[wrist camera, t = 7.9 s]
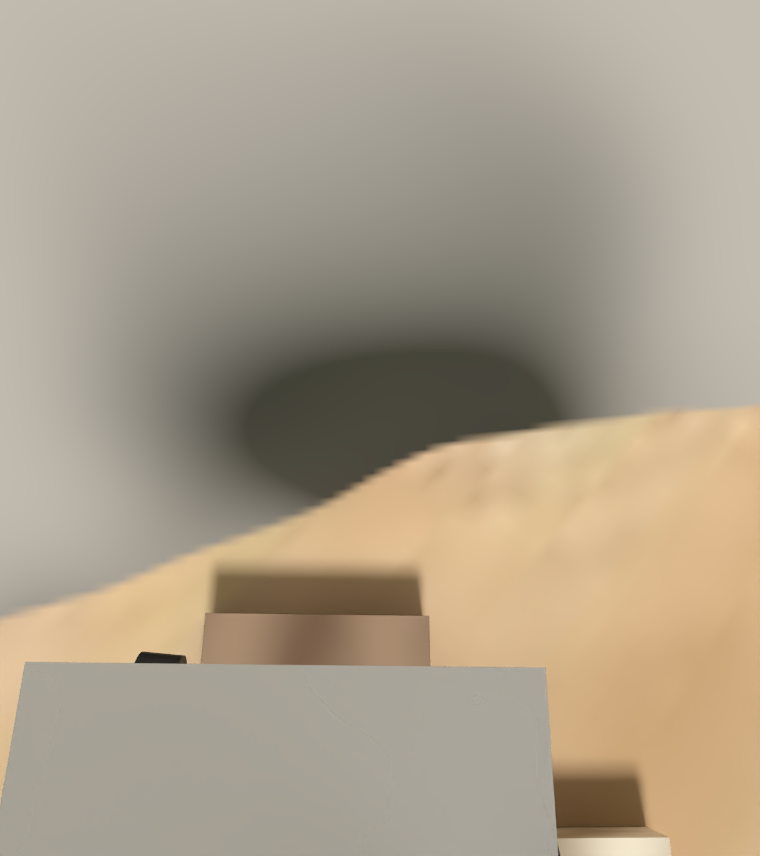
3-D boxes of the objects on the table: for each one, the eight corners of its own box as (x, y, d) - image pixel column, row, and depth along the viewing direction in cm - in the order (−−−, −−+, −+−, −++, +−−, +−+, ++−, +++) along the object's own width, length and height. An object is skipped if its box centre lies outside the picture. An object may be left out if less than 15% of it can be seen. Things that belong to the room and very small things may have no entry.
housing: (417, 675, 16) (545, 667, 7) (420, 928, 15) (594, 1377, 5) (200, 673, 16) (24, 662, 7) (176, 932, 14) (-107, 1419, 5)
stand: (422, 619, 30) (429, 615, 28) (425, 857, 27) (433, 871, 25) (213, 617, 30) (205, 613, 28) (192, 860, 27) (182, 874, 25)
